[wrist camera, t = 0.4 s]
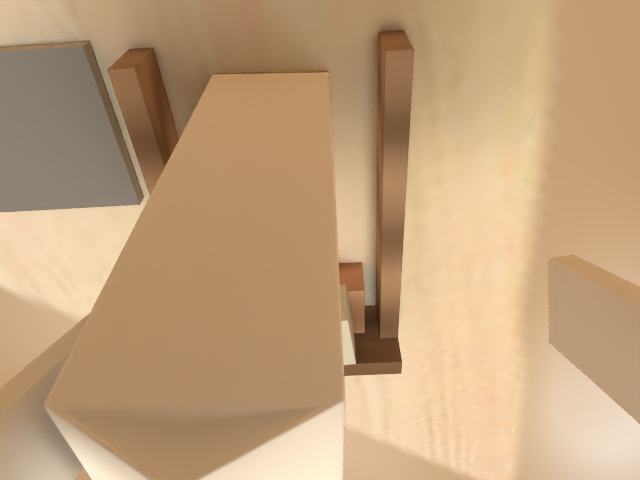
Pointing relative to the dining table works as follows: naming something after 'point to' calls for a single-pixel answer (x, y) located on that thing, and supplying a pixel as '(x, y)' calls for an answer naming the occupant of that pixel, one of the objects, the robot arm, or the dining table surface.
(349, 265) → the offcut low
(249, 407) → the milk
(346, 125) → the dining table surface
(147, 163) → the rack
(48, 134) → the slate pad
